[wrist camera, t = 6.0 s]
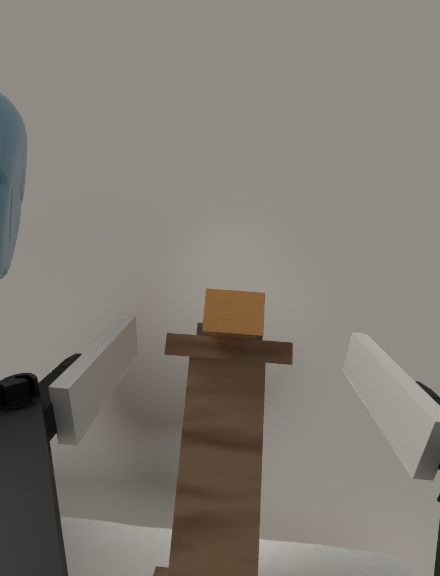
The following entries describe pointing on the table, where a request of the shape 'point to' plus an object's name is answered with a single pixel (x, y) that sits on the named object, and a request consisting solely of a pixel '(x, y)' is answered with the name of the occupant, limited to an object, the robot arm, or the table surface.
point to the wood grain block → (233, 314)
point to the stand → (220, 454)
